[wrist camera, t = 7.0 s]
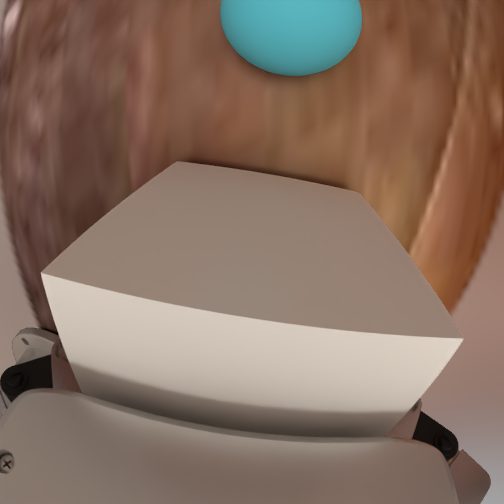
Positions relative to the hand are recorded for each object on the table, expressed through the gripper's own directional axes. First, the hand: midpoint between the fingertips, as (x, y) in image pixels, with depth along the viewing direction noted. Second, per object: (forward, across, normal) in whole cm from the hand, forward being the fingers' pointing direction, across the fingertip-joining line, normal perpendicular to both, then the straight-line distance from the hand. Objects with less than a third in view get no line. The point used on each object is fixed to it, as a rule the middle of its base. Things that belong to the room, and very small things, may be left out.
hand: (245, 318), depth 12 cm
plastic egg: (+2, 0, -12) cm, 12 cm away
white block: (+3, 0, 0) cm, 3 cm away
